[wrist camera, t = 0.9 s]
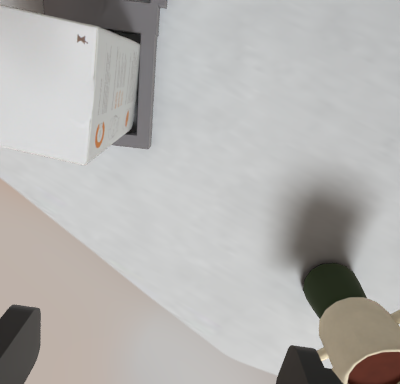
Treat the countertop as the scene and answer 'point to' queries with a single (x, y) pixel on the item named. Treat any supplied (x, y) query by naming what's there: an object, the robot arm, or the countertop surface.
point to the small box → (64, 86)
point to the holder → (130, 23)
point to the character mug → (353, 327)
